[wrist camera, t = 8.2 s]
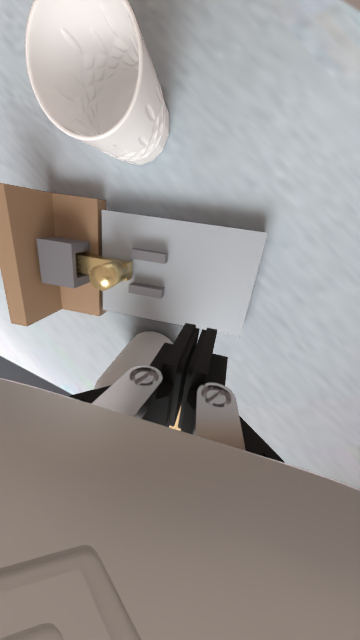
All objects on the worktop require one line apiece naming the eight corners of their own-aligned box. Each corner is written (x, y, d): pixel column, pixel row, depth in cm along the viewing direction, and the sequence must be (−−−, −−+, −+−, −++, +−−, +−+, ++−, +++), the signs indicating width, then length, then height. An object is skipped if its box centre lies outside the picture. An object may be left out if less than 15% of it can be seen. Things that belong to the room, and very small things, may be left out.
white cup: (140, 51, 21) (75, -85, 12) (191, 131, 22) (168, 65, 13) (87, 122, 24) (2, 58, 15) (136, 188, 25) (86, 167, 16)
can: (128, 326, 32) (79, 377, 21) (180, 331, 31) (155, 387, 20) (132, 369, 35) (90, 434, 24) (179, 375, 34) (157, 446, 23)
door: (267, 222, 24) (285, 220, 17) (237, 336, 30) (241, 372, 22) (48, 193, 27) (-17, 180, 20) (58, 301, 33) (11, 323, 26)
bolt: (134, 259, 26) (112, 268, 21) (133, 280, 27) (112, 292, 22) (62, 248, 27) (24, 252, 22) (63, 267, 28) (27, 277, 23)
